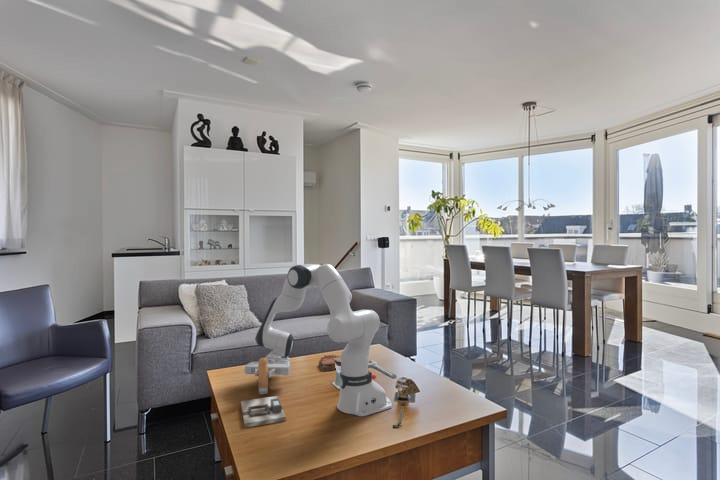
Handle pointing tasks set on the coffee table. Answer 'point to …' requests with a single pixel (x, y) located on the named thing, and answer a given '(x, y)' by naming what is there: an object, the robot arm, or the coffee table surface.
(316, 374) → the coffee table surface
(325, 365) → the pottery shard
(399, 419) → the tactical tomahawk
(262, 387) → the tan rounded rod
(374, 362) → the adjustable wrench
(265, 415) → the metal mounting plate
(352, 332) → the robot arm
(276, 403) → the block
